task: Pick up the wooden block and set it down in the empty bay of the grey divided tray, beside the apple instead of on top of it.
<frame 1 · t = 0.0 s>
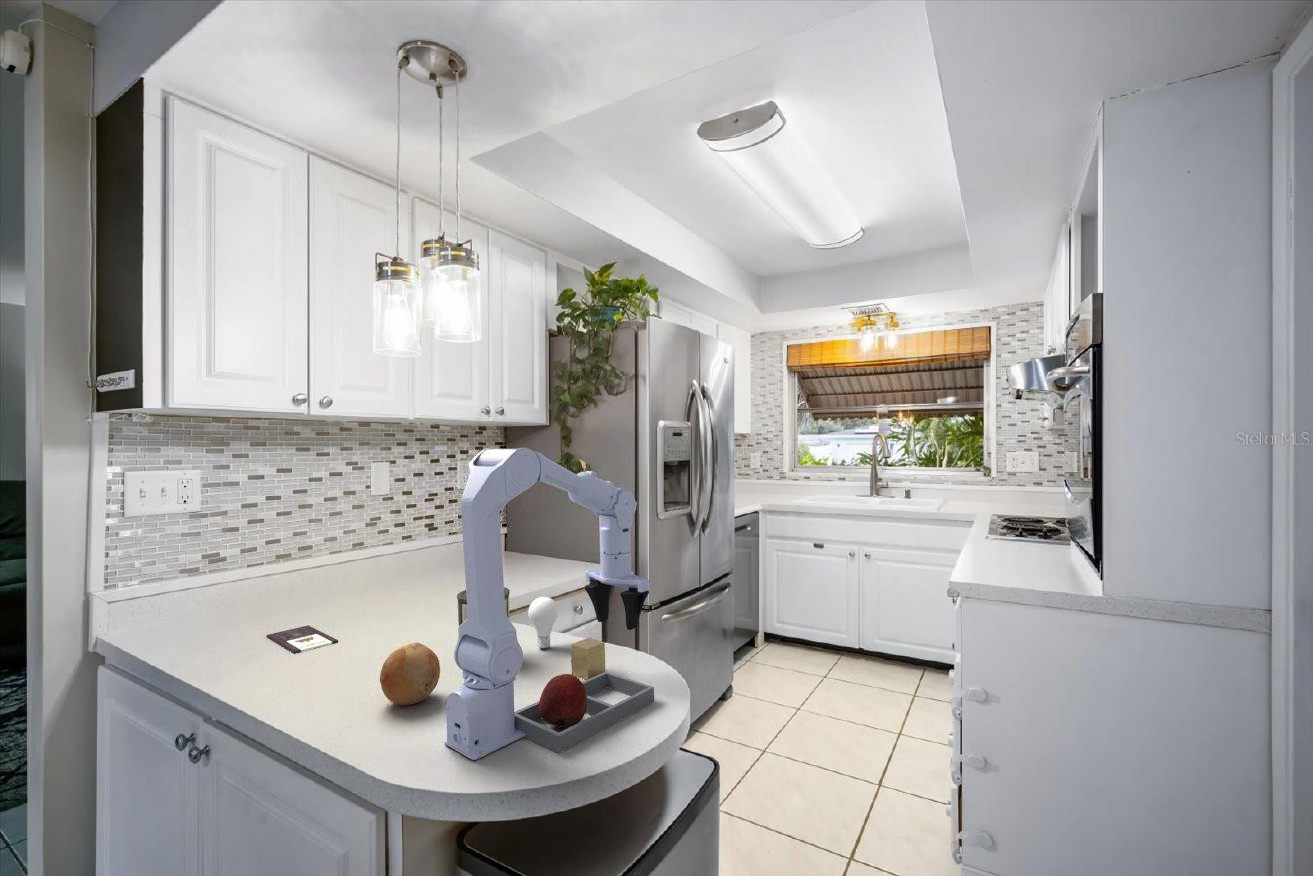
hand: (617, 624, 113), 10 cm above the counter, tool pointing down, fingers open, 7 cm apart
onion: (411, 703, 106), on the counter
coffee can: (485, 662, 124), on the counter
lightbulb: (544, 649, 131), on the counter
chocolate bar: (301, 642, 140), on the counter
apple: (564, 727, 95), resting in grey divided tray
wooden block: (588, 674, 116), on the counter
grey divided tray: (585, 715, 99), on the counter
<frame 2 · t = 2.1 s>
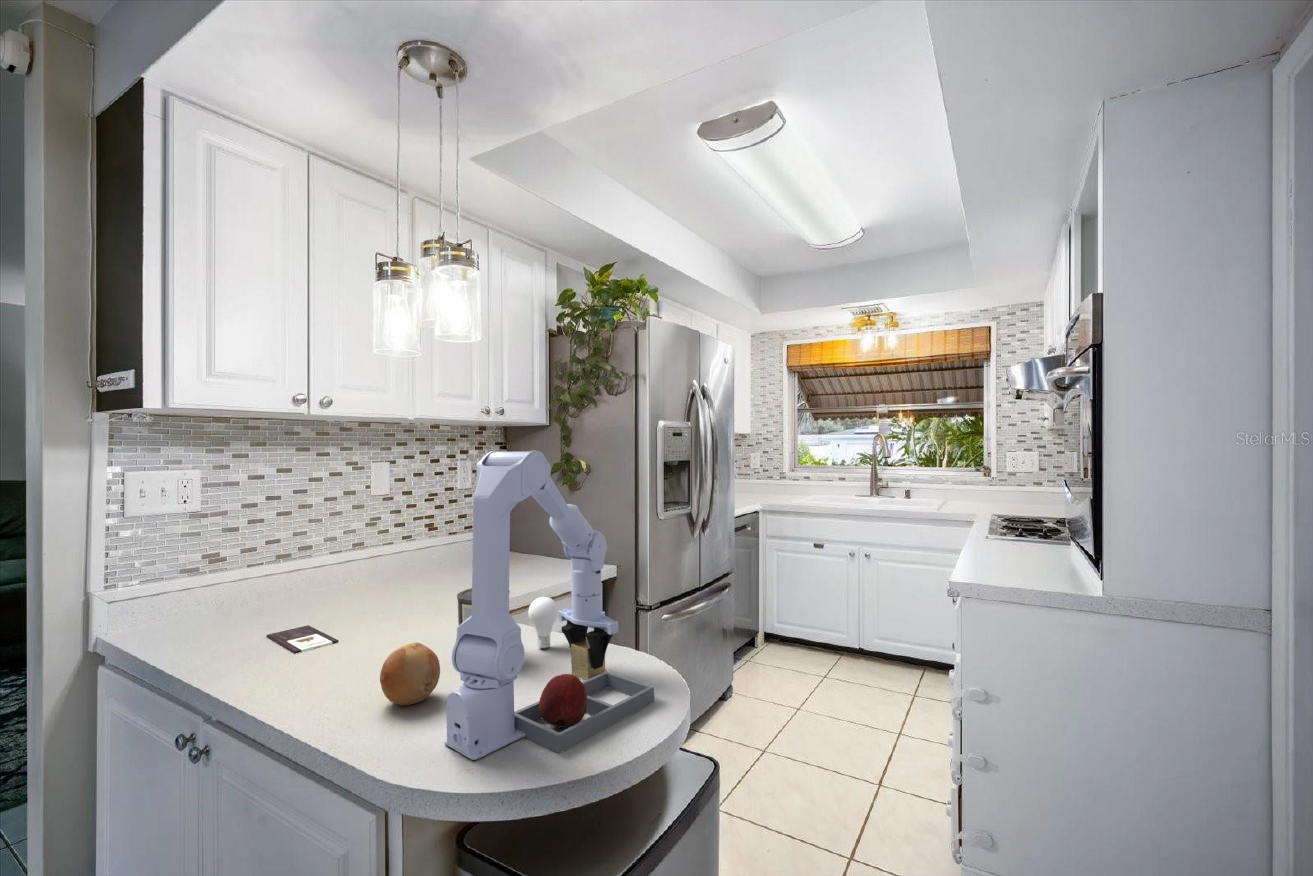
hand: (588, 664, 116), 2 cm above the counter, tool pointing down, fingers closed on wooden block, 4 cm apart
wooden block: (588, 674, 116), on the counter, touching gripper
everything else where it was.
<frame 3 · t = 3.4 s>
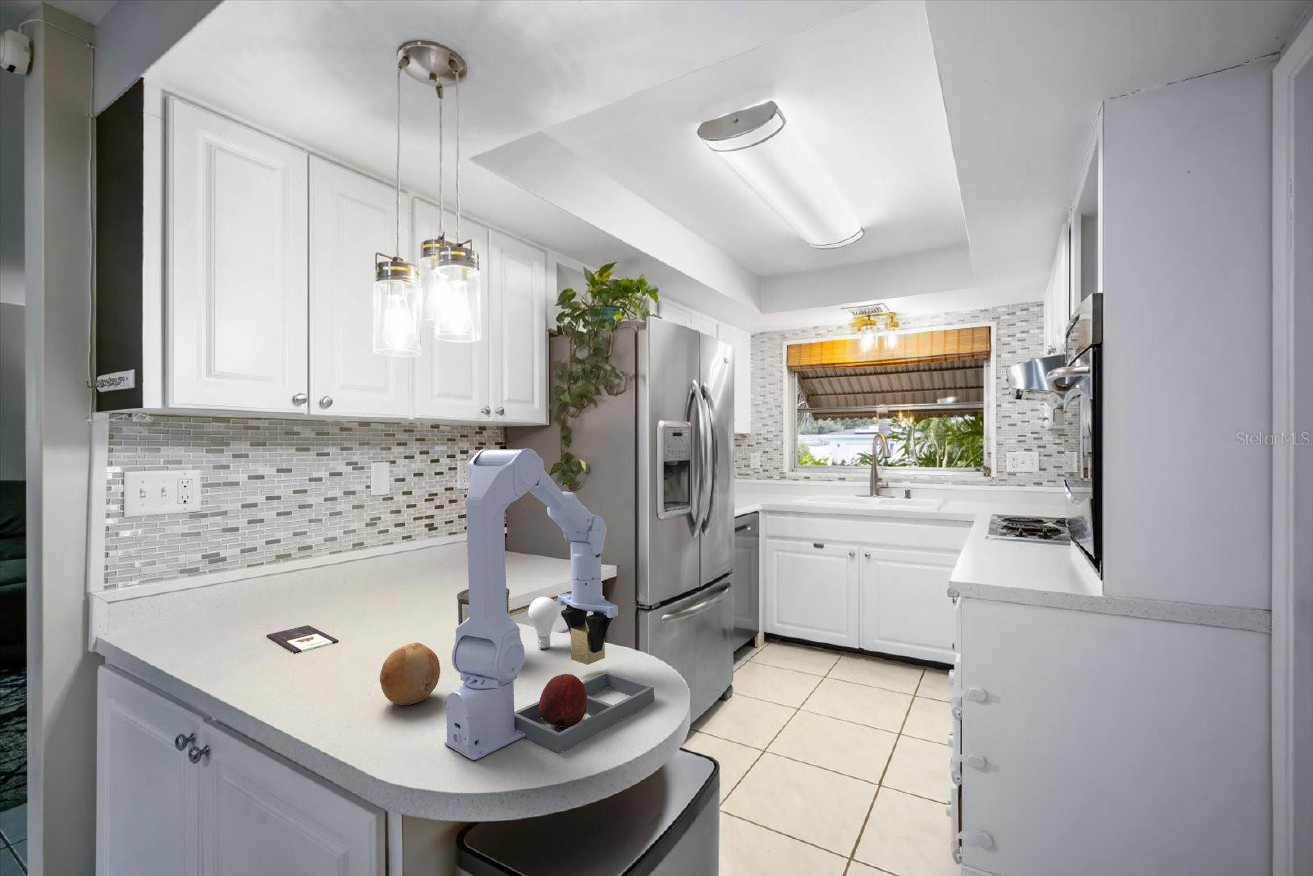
hand: (587, 648, 116), 5 cm above the counter, tool pointing down, fingers closed on wooden block, 4 cm apart
wooden block: (588, 658, 116), point 3 cm above the counter, touching gripper
everything else where it was.
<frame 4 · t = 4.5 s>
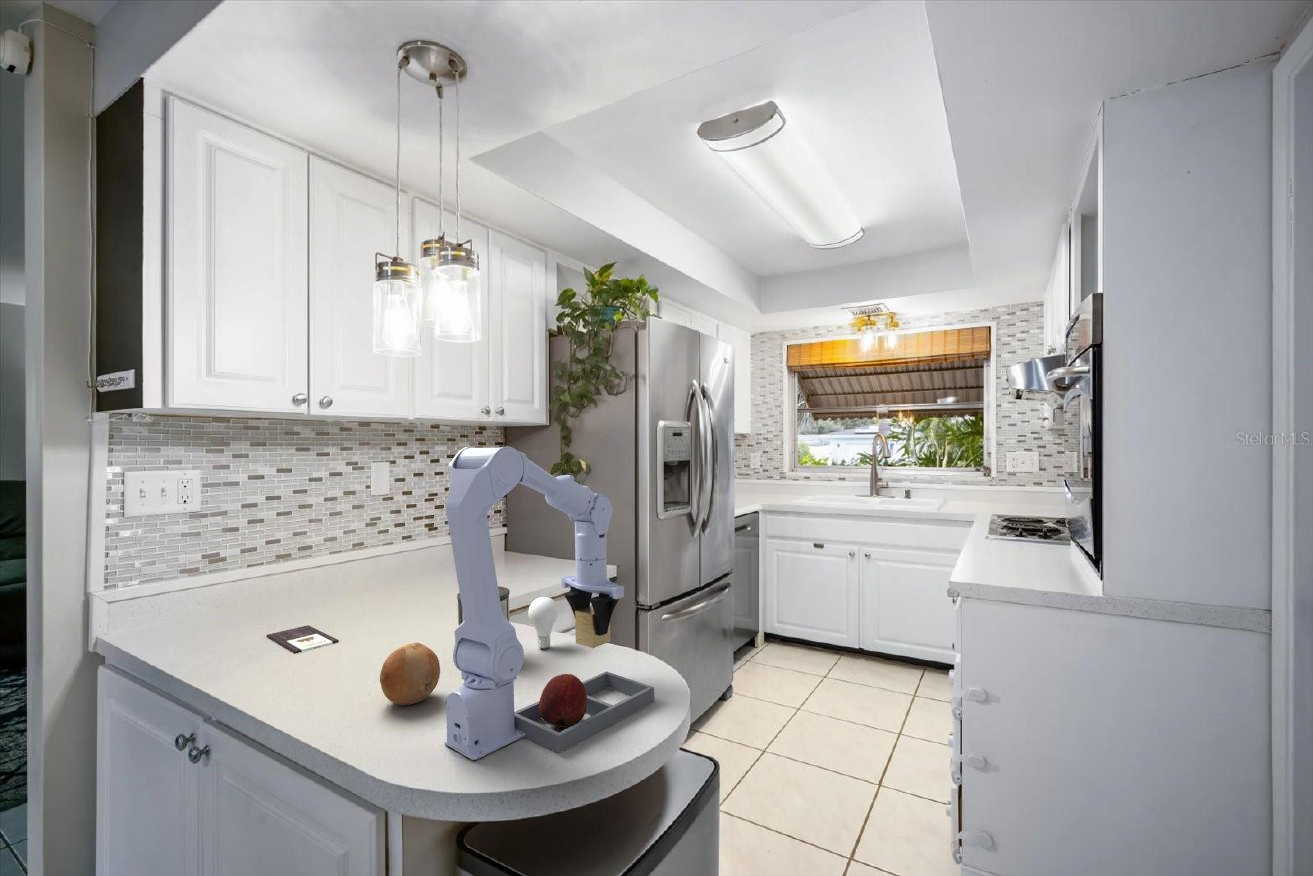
hand: (592, 631, 112), 9 cm above the counter, tool pointing down, fingers closed on wooden block, 4 cm apart
wooden block: (593, 642, 112), point 7 cm above the counter, touching gripper
everything else where it was.
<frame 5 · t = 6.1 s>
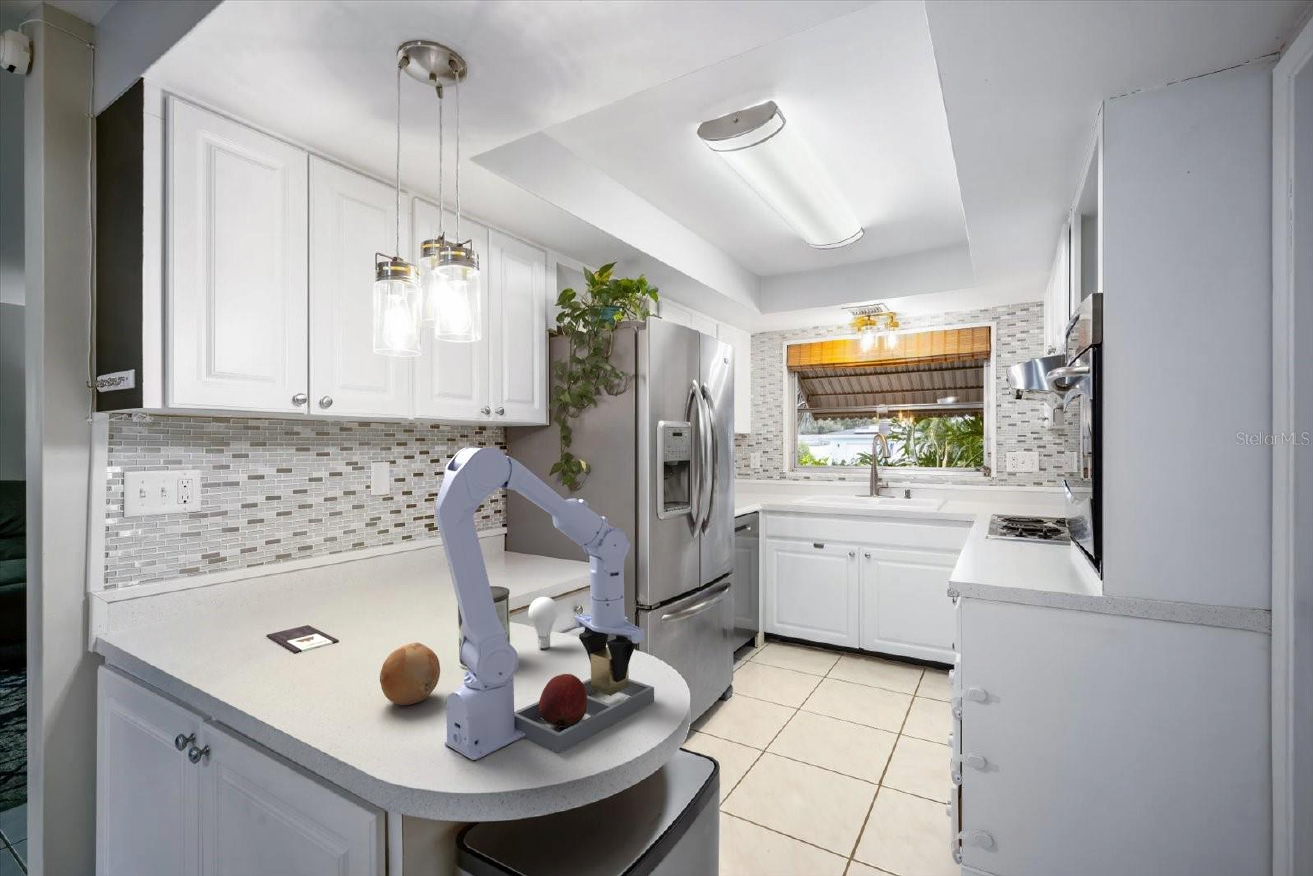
hand: (609, 676, 103), 5 cm above the counter, tool pointing down, fingers closed on wooden block, 4 cm apart
wooden block: (610, 687, 103), point 3 cm above the counter, touching gripper
everything else where it was.
when the fingers open (3 cm above the counter, at t = 7.2 s): wooden block drops 1 cm, resting in grey divided tray.
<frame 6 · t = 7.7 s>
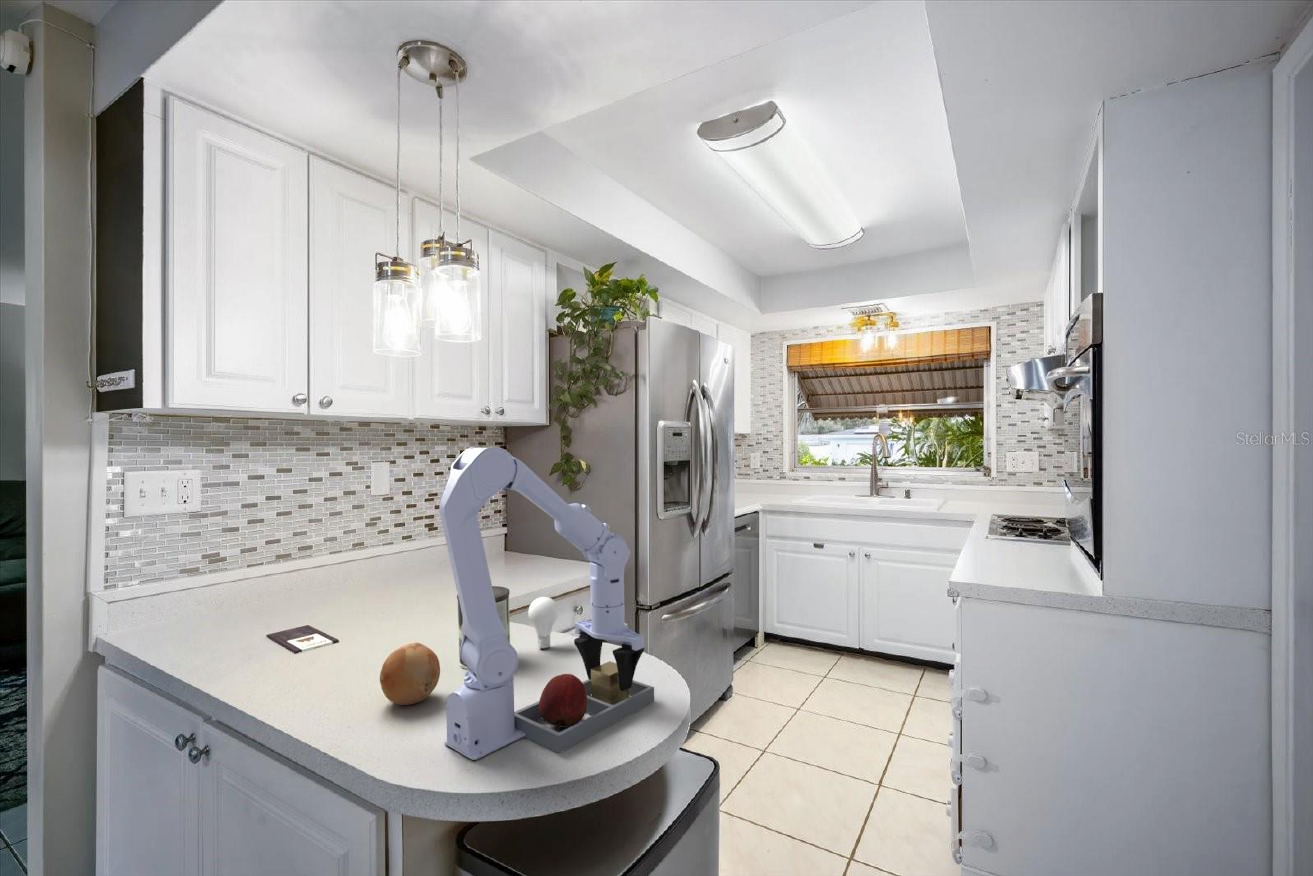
hand: (609, 683, 103), 3 cm above the counter, tool pointing down, fingers open, 7 cm apart
wooden block: (610, 703, 103), resting in grey divided tray
everything else where it was.
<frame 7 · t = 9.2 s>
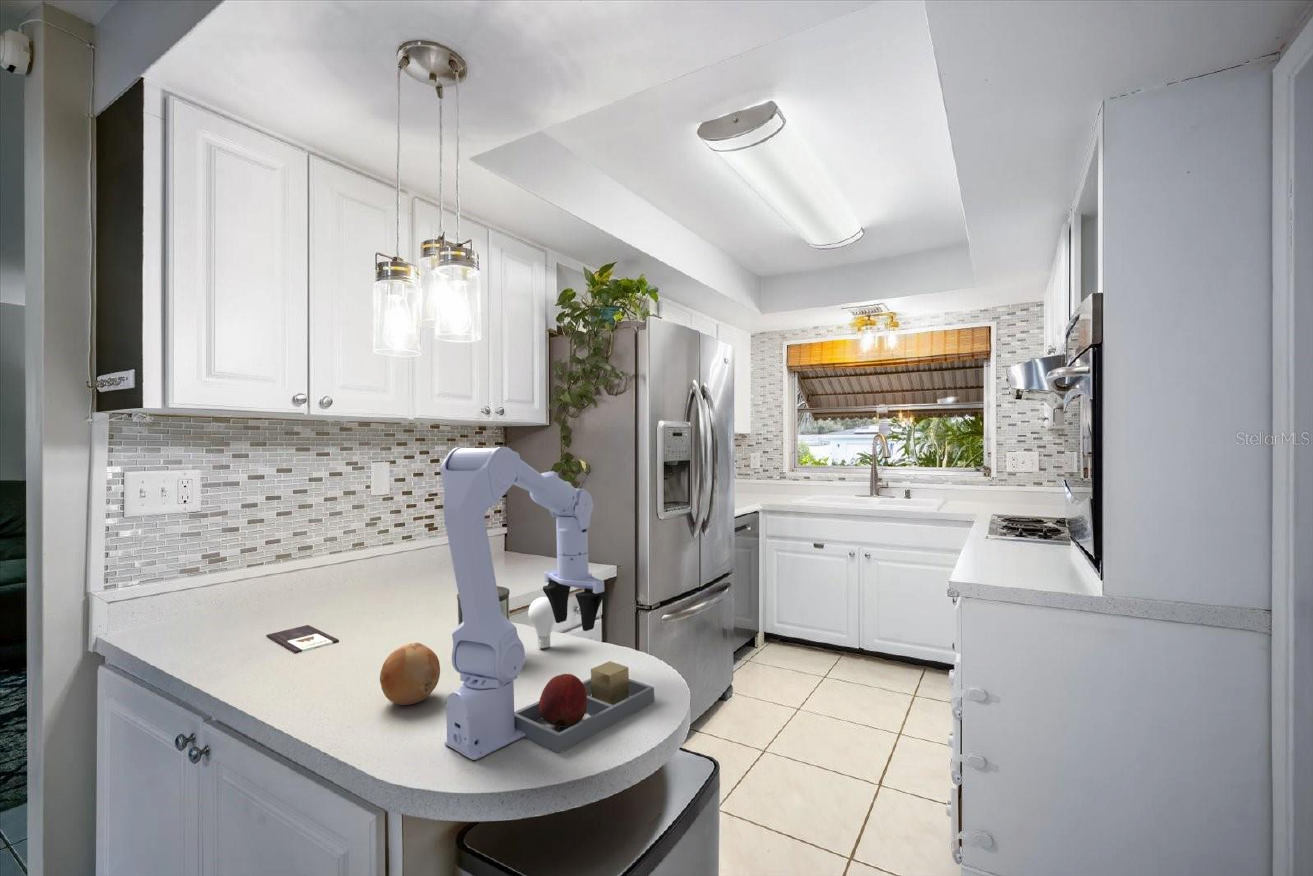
hand: (574, 625, 113), 10 cm above the counter, tool pointing down, fingers open, 7 cm apart
nothing on the counter moved.
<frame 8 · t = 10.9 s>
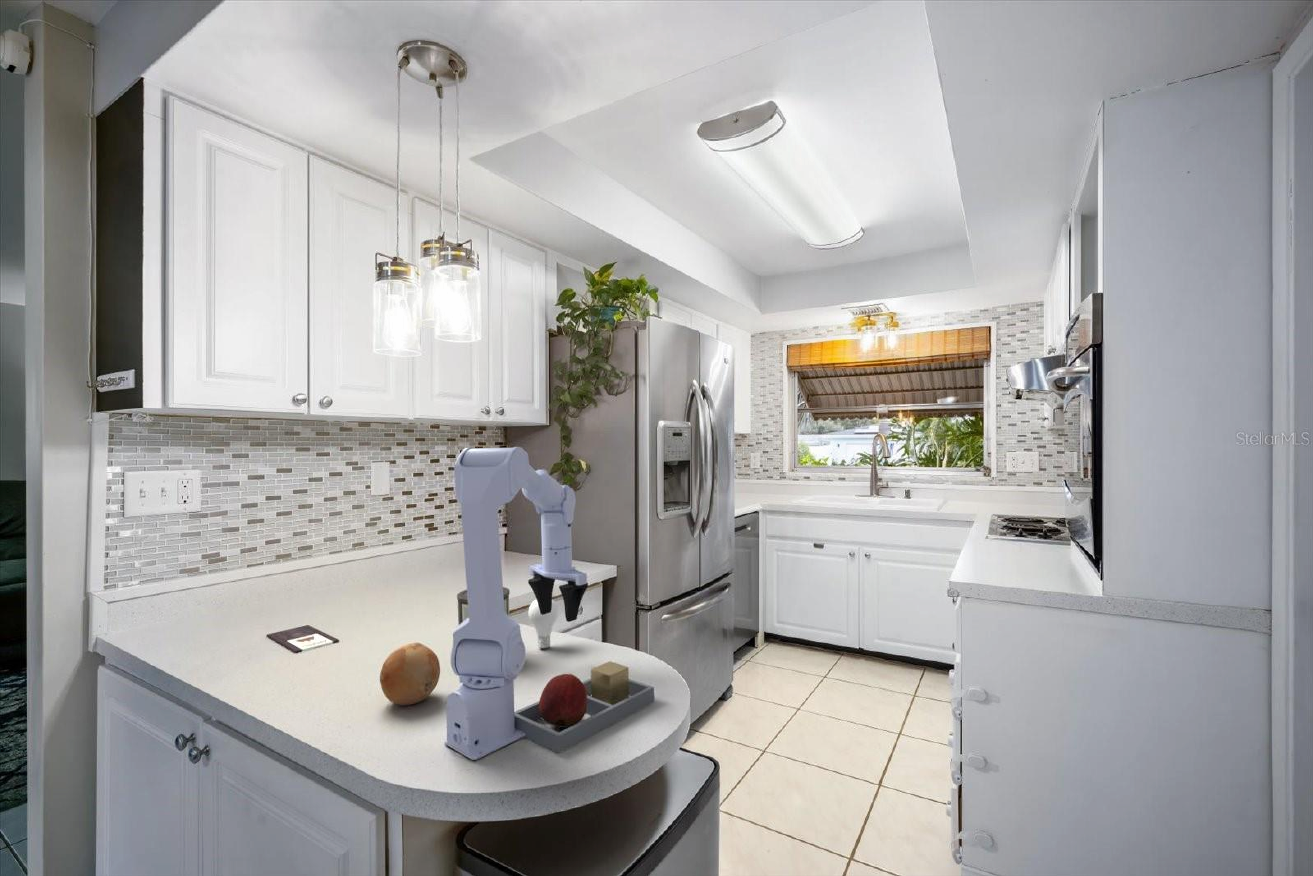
hand: (558, 616, 118), 10 cm above the counter, tool pointing down, fingers open, 7 cm apart
nothing on the counter moved.
at the end: wooden block 0.1 cm from the target spot on the grey divided tray, point 0.0 cm above the grey divided tray's base; wooden block tilted 0°; apple moved 0.2 cm from its start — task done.
